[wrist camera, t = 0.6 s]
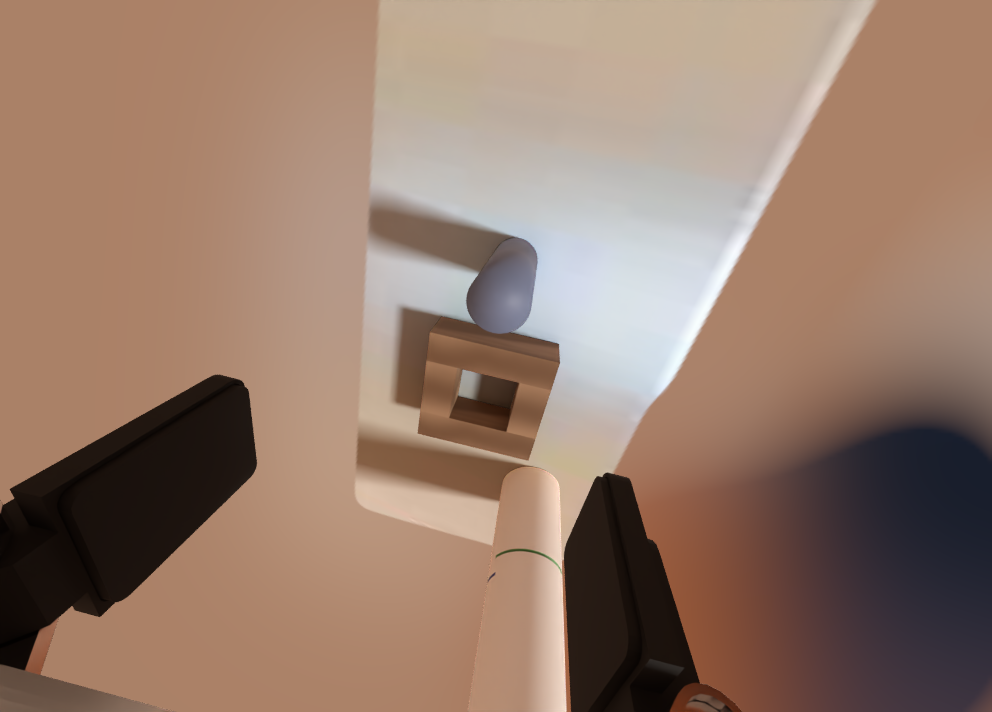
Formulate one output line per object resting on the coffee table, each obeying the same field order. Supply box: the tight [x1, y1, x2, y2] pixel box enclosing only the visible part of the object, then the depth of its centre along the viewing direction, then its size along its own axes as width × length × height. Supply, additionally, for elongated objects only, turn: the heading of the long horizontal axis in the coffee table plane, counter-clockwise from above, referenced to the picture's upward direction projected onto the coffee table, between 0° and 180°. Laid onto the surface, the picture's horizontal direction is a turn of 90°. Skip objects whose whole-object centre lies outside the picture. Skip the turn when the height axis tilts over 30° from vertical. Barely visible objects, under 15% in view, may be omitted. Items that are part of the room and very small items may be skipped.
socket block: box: [418, 317, 560, 460], centre depth 37 cm, size 12×12×4 cm
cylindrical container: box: [468, 467, 566, 712], centre depth 34 cm, size 7×7×25 cm
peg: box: [466, 238, 537, 334], centre depth 27 cm, size 4×4×12 cm
